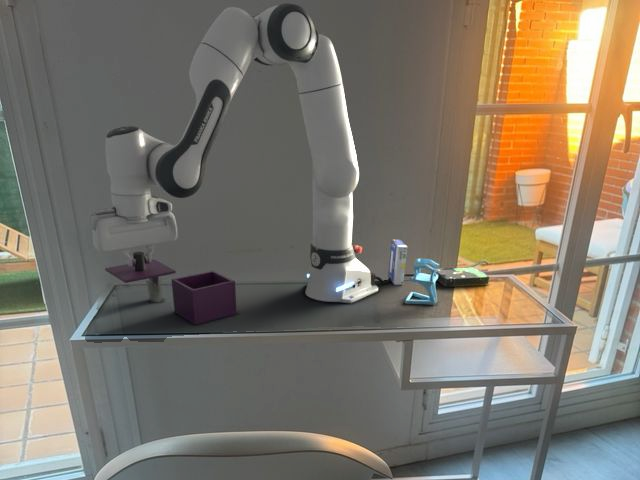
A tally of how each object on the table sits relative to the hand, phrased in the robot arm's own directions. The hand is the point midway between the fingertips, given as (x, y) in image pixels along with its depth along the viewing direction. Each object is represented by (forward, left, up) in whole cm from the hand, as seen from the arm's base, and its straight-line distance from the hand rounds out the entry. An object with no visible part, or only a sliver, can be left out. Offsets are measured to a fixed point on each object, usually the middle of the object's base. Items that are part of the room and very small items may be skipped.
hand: (140, 264), depth 144 cm
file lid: (0, 0, -2) cm, 2 cm away
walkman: (-77, +16, -15) cm, 79 cm away
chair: (-70, +33, -15) cm, 78 cm away
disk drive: (-94, +28, -15) cm, 99 cm away
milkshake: (-9, -11, -15) cm, 20 cm away
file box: (-15, +5, -15) cm, 21 cm away
